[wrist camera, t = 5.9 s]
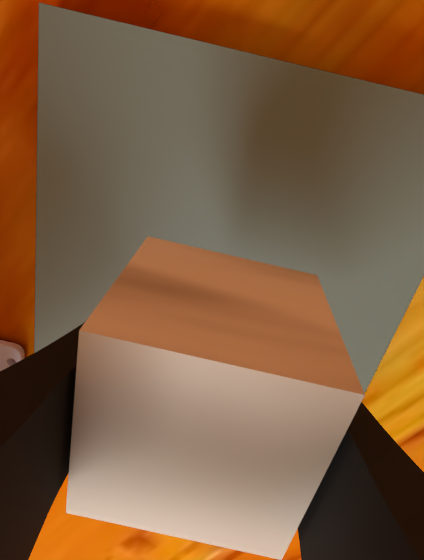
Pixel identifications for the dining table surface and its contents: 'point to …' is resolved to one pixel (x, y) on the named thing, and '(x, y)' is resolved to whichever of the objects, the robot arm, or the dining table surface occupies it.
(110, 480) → the cream cube
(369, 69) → the dining table surface
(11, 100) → the dining table surface
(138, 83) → the board
